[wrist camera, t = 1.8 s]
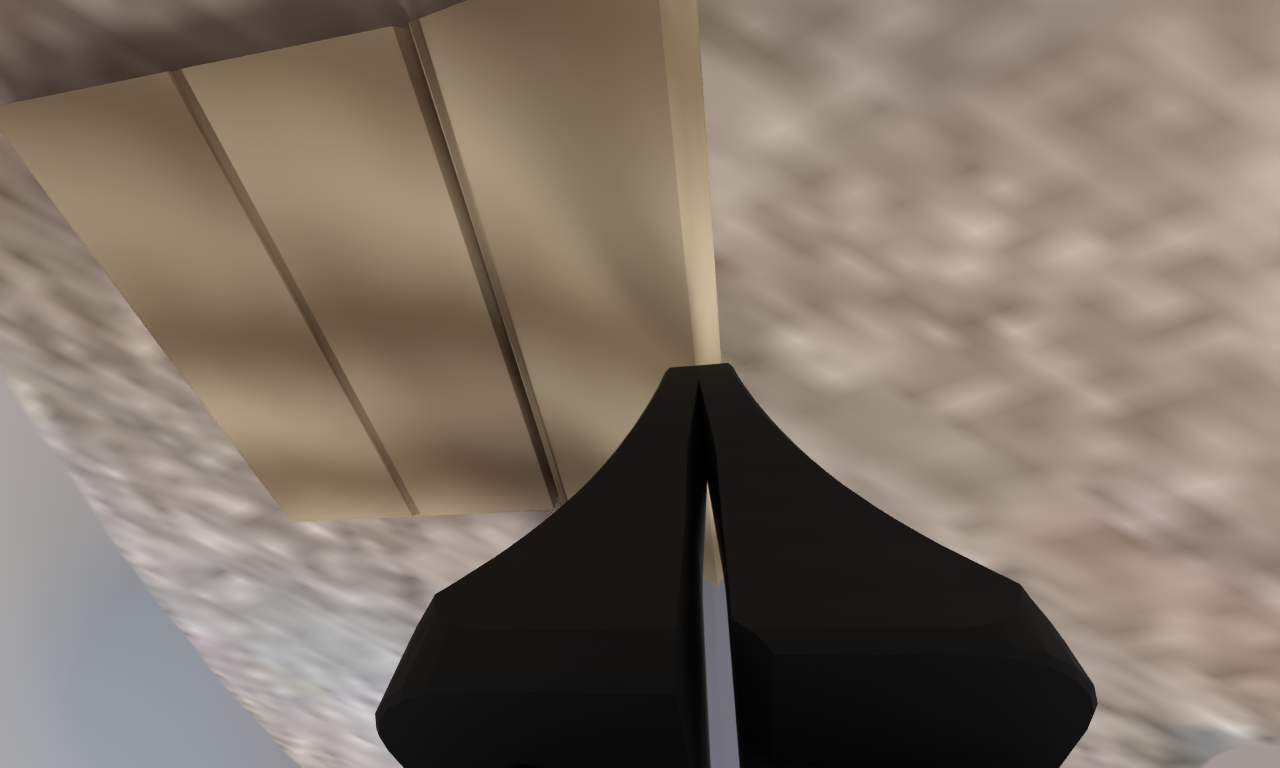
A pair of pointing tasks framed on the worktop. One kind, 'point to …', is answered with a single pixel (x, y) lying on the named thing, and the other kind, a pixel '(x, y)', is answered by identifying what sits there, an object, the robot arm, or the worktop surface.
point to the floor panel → (305, 271)
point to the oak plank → (585, 204)
